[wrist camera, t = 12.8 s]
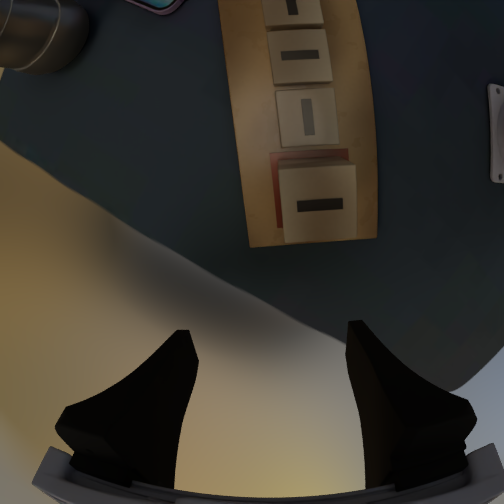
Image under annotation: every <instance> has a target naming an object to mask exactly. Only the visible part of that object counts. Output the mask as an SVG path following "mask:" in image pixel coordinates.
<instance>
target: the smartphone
mask: <svg viewBox="0 0 504 504" xmlns="http://www.w3.org/2000/svg"><path fill="white" fill-rule="evenodd" d="M125 1H128V2H130V3H133V4H135V5H137V6H140V7H142V8H145V9H147V10H149V11H151V12H154V13H156V14H159V15H166V14H169V13H171V12H173V11H174V10H176V9H177V8H178V7H179V6H180V5H181V3H182V2H183V1H184V0H125Z"/></svg>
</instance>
